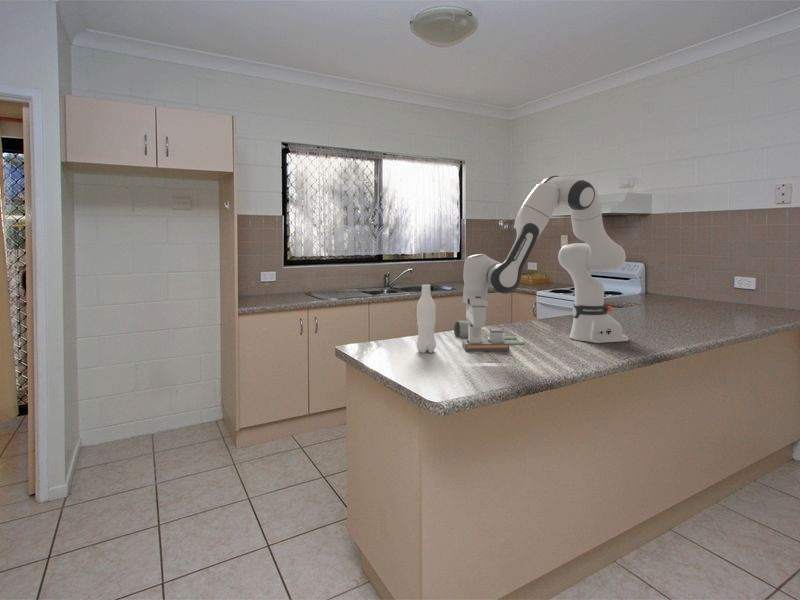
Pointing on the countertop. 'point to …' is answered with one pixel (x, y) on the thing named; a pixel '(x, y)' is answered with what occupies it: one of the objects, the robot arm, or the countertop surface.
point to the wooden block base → (485, 346)
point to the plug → (470, 334)
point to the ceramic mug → (461, 329)
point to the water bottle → (426, 321)
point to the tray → (513, 338)
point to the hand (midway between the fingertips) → (474, 335)
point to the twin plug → (496, 336)
